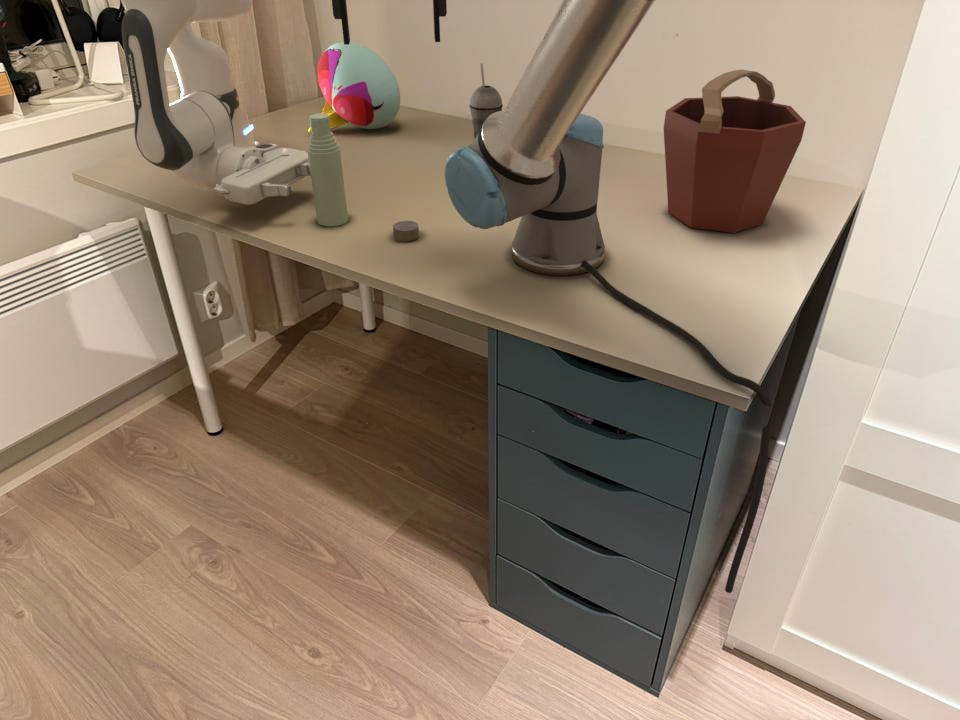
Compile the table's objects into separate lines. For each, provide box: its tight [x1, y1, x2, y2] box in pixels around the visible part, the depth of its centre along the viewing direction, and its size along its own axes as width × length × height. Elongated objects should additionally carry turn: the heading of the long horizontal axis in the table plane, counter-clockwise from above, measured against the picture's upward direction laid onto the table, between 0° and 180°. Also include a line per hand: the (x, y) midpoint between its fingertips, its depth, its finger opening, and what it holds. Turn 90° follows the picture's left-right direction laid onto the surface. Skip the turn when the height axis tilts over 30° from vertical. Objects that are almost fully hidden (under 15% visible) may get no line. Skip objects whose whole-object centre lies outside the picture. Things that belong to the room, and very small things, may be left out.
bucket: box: [663, 69, 807, 234], centre depth 125 cm, size 24×22×25 cm
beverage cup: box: [468, 62, 504, 141], centre depth 154 cm, size 7×7×20 cm
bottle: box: [306, 113, 349, 227], centre depth 126 cm, size 6×6×19 cm
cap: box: [392, 220, 420, 243], centre depth 124 cm, size 4×4×2 cm
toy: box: [307, 41, 401, 134], centre depth 176 cm, size 24×24×20 cm
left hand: (305, 182), depth 129 cm, fingers open, 8 cm apart
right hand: (392, 41), depth 107 cm, fingers open, 13 cm apart
